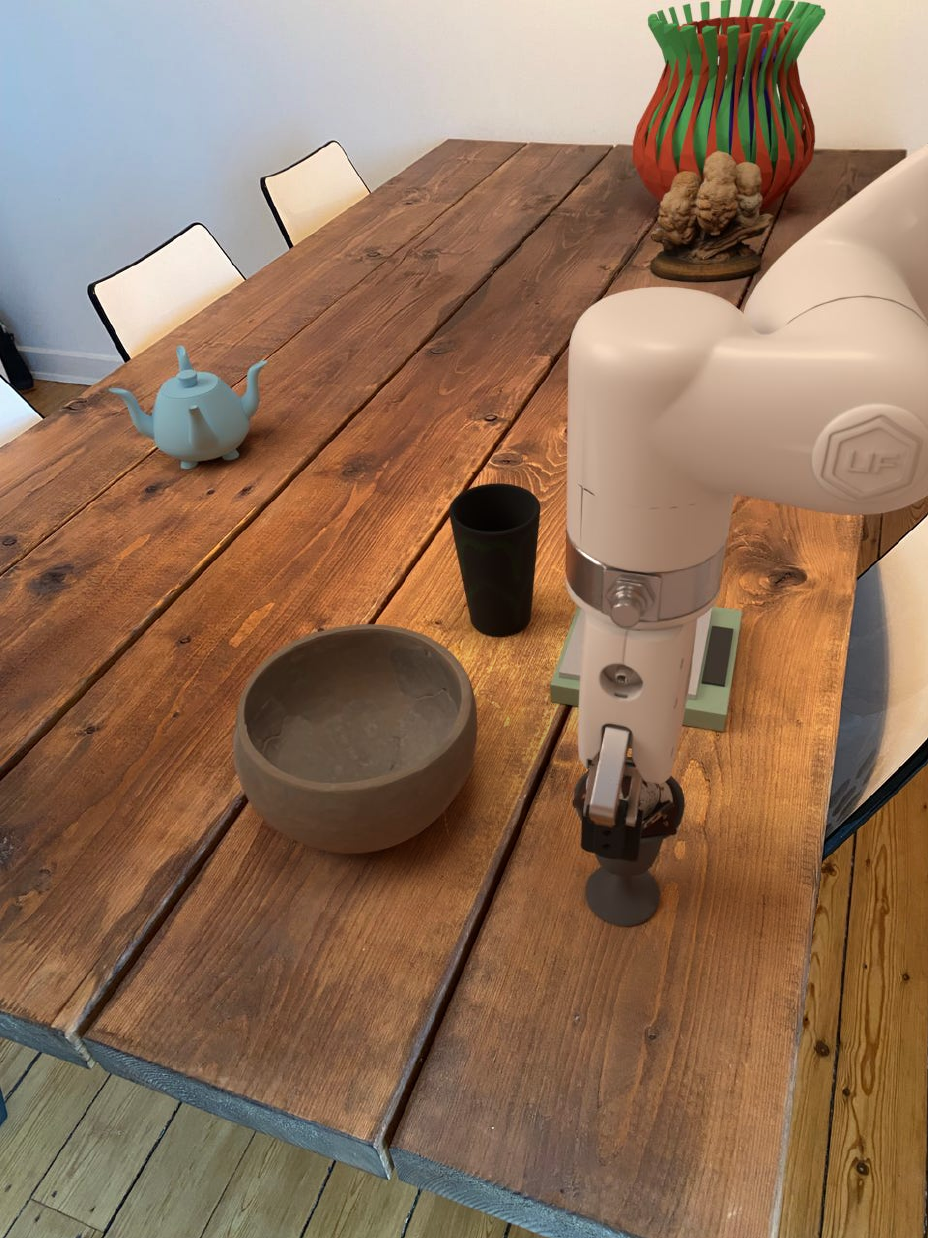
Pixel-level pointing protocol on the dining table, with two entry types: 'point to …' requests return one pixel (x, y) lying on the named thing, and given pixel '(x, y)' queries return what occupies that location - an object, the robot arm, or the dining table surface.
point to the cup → (497, 554)
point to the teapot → (197, 414)
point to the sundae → (625, 885)
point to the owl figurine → (710, 223)
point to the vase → (729, 96)
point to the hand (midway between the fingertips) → (625, 787)
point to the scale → (707, 675)
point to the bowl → (355, 737)
